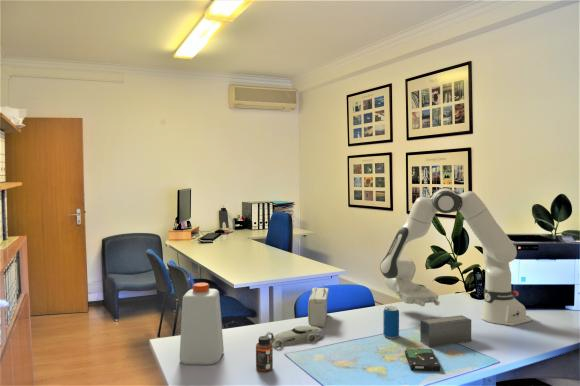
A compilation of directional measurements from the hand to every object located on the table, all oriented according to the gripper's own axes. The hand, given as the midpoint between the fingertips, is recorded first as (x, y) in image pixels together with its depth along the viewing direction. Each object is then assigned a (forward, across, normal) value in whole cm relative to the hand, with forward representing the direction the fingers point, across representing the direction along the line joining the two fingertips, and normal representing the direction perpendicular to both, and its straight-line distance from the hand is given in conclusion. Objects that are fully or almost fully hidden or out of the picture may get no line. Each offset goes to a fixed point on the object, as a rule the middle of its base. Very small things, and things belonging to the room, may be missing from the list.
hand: (431, 304), depth 210 cm
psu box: (+21, -11, +6) cm, 24 cm away
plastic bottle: (-12, -102, +23) cm, 105 cm away
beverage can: (+5, -26, +11) cm, 28 cm away
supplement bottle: (+8, -86, +18) cm, 88 cm away
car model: (-11, -62, +19) cm, 66 cm away
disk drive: (+31, -34, +7) cm, 46 cm away
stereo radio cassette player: (-26, -41, +19) cm, 52 cm away
